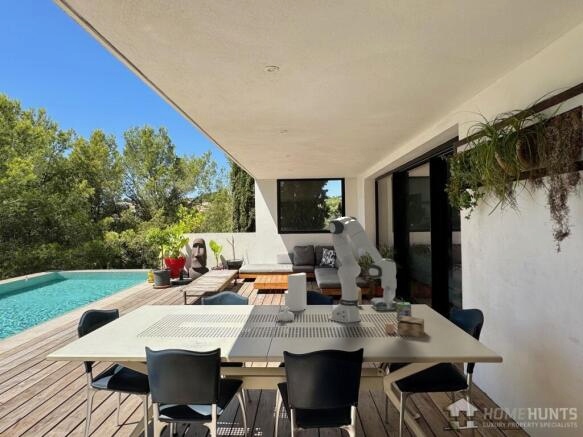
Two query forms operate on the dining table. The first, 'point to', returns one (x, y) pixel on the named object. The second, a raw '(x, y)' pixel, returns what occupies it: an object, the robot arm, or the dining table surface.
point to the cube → (389, 327)
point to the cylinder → (296, 292)
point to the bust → (285, 314)
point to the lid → (410, 319)
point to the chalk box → (403, 309)
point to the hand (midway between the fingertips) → (389, 307)
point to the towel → (382, 304)
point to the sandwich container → (359, 296)
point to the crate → (410, 329)
